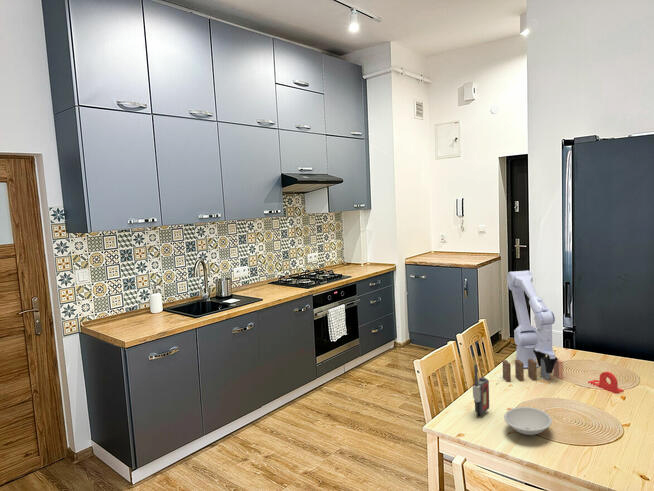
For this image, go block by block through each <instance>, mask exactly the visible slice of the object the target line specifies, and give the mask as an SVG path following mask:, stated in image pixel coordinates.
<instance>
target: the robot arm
mask: <svg viewBox="0 0 654 491" xmlns="http://www.w3.org/2000/svg"><path fill="white" fill-rule="evenodd" d="M533 277H534V276H533V274H532V272H531V271H530V270H519V271H517V270H515V271H509V272H507V277H506V280H507V287H508V289H509V290H510V291H511V294H512V298H513V304H514V309H515V312H516V319H517V322H518V326H517V327H516V328H515V329H514V330H513V333H514V334H513V336H514V337H513V340H514V343H515V345H516V349H515V350H516V351H515V352H516V360H520V361H521V362H522V363H523V364H524V369H526V368H527V369H528V359H532V360H533V361H535V362H536V363H537V368H541V359H542V358H543V360H544V363H545V368H546V372H547V373H550V374H552V373H554V365H555V363H556V361H557V360H558V359H559V358H558V357H557V356H556V354H555V352H554V349H553V324H555V321H556V316H555V314H554V312H553V311H552V310H550V309H549V308H548V307H547V306H546V304H545V302H544V300H543V298H542V297H540V296H538V294H537V292H536V289H535V287H534V284H533V281H534V278H533ZM525 295H526V296H527V298H528V304H529V306H530V309H531V310H532V313H533V314H534V317H533V318H534V323H535V326H534V325H531V321H530V315H529V312H528V308H527V307H528V306H527V301H526V298H525Z"/></svg>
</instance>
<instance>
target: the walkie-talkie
mask: <svg viewBox="0 0 654 491" xmlns="http://www.w3.org/2000/svg"><path fill="white" fill-rule="evenodd" d="M473 366H474V367H473V369H474V370H473V372H474V383H472V398H473V399H474V400H473V402H474V413H477V414H476V415H477V417H479V418H481V415H483V414H485V413H486V412H487V411H488V410H489V409H490V386H489V385H490V381H489V379H488V378H486V377H484V376H481V377H479V376H478V365H477V364H474V365H473ZM478 377H479V378H478Z"/></svg>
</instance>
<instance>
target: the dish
mask: <svg viewBox="0 0 654 491" xmlns="http://www.w3.org/2000/svg"><path fill="white" fill-rule="evenodd" d="M503 418H504V421H505V422H506V424H507V425H509V427H510V428H512V429H513V430H515V431H516V432H517V433H520V434H523V435H530V436H532V435H538V434H540V433H542V432H544V431H545V430H547V429H548V428H549V427H550V426H551V425H552V422H553V419H552V417H551V416H550V414H549V413H547V412H546V411H545V410H543V409H539V408H536V407H531V406H519V407H514V408H511V409H508V410H507V411H505V413H504V416H503Z"/></svg>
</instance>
